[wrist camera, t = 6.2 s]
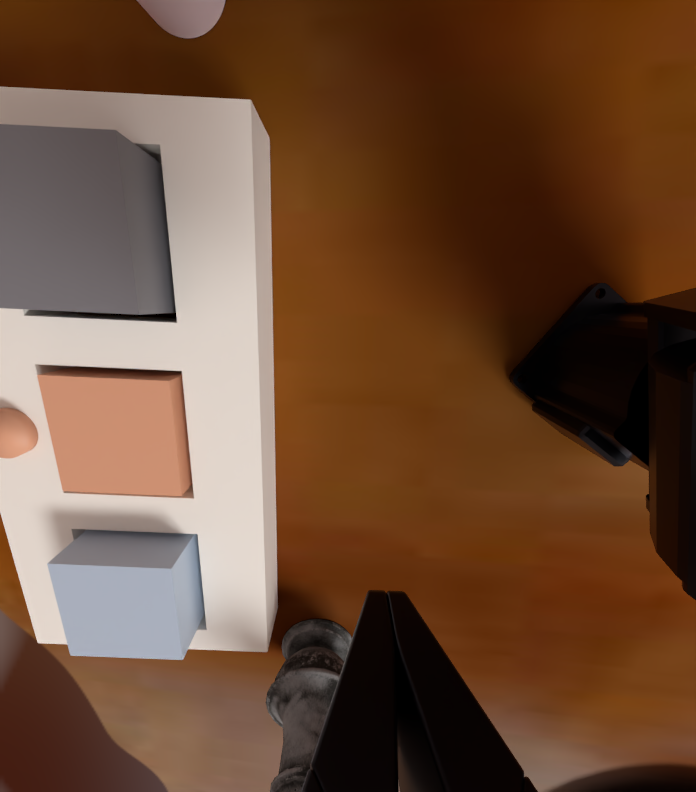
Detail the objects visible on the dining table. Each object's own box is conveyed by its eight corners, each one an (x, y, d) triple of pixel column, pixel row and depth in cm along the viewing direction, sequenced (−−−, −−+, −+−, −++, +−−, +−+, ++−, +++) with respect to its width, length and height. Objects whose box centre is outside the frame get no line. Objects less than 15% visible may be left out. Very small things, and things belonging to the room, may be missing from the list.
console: (-33, 122, 15) (-148, 69, 12) (269, 138, 15) (245, 89, 12) (77, 599, 23) (28, 653, 19) (277, 608, 23) (264, 662, 19)
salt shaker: (269, 666, 24) (198, 991, 13) (288, 607, 23) (226, 917, 11) (344, 682, 25) (340, 1011, 13) (368, 626, 23) (387, 943, 12)
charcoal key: (22, 158, 14) (-66, 120, 11) (165, 166, 14) (115, 129, 11) (50, 306, 15) (-18, 307, 12) (178, 312, 15) (139, 314, 13)
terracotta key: (88, 363, 18) (37, 375, 15) (198, 368, 18) (169, 381, 15) (105, 463, 19) (62, 491, 16) (206, 467, 19) (181, 496, 16)
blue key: (93, 523, 19) (46, 563, 16) (198, 527, 19) (171, 568, 16) (110, 605, 20) (70, 655, 17) (206, 609, 20) (182, 659, 17)
